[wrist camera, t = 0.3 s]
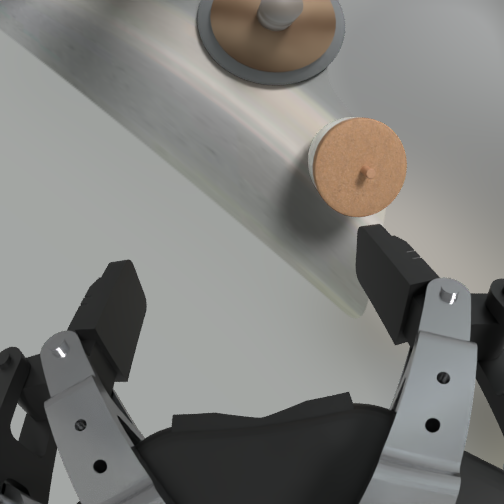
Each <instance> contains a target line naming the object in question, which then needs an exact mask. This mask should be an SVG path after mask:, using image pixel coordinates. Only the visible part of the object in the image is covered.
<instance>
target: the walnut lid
mask: <svg viewBox="0 0 504 504" xmlns="http://www.w3.org/2000/svg"><path fill="white" fill-rule="evenodd" d="M210 18H211V26H212V30H213V33H214V35H215V38H216V40H217V41H218V43H219V45H220V46H221V47H222V48H223V50H224V51H225V52H226V53H227V54H228V55H229V56H230V57H232V58H233V59H235V60H236V61H237V62H239V63H241V64H243V65H245V66H247V67H250V68H252V69H256V70H259V71H264V72H274V73H277V72H288V71H293V70H297V69H300V68H302V67H305V66H307V65H309V64H311V63H313V62H314V61H316V60H317V59H318V58H320V57H321V56H322V55H323V54H324V53H325V52H326V50H327V49H328V48H329V46H330V44H331V42H332V40H333V37H334V35H335V29H336V17H335V12H334V8H333V6H332V4H331V1H330V0H213V3H212V7H211V15H210Z"/></svg>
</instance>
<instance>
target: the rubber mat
mask: <svg viewBox="0 0 504 504" xmlns="http://www.w3.org/2000/svg"><path fill="white" fill-rule="evenodd" d="M330 1H331V4H332V6H333V8H334V12H335V17H336V29H335V35H334V37H333V40H332V42H331V44H330V46H329V48H328V49H327V50H326V52H325V53H324V54H323V55H322V56H321V57H320V58H318V59H317V60H316V61H314V62H313V63H311V64H309V65H307V66H305V67H302V68H300V69H297V70H293V71H288V72H277V73H274V72H264V71H259V70H256V69H252V68H250V67H247V66H245V65H243V64H241V63H239V62H237V61H236V60H235V59H233V58H232V57H230V56H229V55H228V54H227V53H226V52H225V51H224V50H223V48H222V47H221V46H220V45H219V43H218V41H217V40H216V38H215V35H214V33H213V30H212V26H211V18H210V15H211V7H212V3H213V0H201V2H200V5H199V9H198V19H197V21H198V30H199V33H200V37H201V39H202V42H203V44H204V46H205V48H206V49H207V51H208V53H209V54H210V55H211V56H212V57H213V59H214V60H215V61H216V62H217V63H218V64H219V65H221V66H222V67H223V68H224V69H226V70H227V71H229V72H230V73H232V74H234V75H236V76H237V77H240V78H242V79H245V80H248V81H251V82H255V83H260V84H265V85H285V84H291V83H296V82H300V81H303V80H306V79H308V78H311V77H313V76H314V75H316V74H318V73H320V72H321V71H322V70H324V69H325V68H326V67H327V66H328V65H329V64H330V63H331V62H332V61H333V60H334V58H335V57H336V55H337V54H338V52H339V50H340V48H341V46H342V43H343V40H344V34H345V19H344V14H343V11H342V8H341V5H340V3H339V1H338V0H330Z"/></svg>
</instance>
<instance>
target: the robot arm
mask: <svg viewBox="0 0 504 504" xmlns="http://www.w3.org/2000/svg"><path fill="white" fill-rule="evenodd" d="M356 274H357V278H358V280H359V282H360V284H361V286H362V287H363V289H364V291H365V293H366V294H367V296H368V298H369V299H370V301H371V303H372V304H373V306H374V308H375V310H376V312H377V313H378V315H379V317H380V319H381V320H382V322H383V324H384V325H385V327H386V329H387V331H388V333H389V335H390V337H391V338H392V340H393V342H394V344H395V345H398V344H402V343H405V342H408V343H409V345H410V348H409V351H408V354H407V358H406V361H405V364H404V368H403V371H402V375H401V378H400V381H399V384H398V387H397V390H396V393H395V396H394V398H393V401H392V404H391V406H390V408H389V409H386V408H383V407H379V406H375V405H370V404H360V403H353V402H352V400H351V397H350V394H349V392H346V393H342V394H337V395H333V396H328V397H323V398H318V399H314V400H309V401H305V402H302V403H300V404H298V405H295V406H293V407H290V408H288V409H285V410H282V411H280V412H277V413H275V414H272V415H269V416H266V417H262V418H254V417H244V416H236V415H227V414H220V413H203V414H183V415H173V419H172V427H170V428H167V429H164V430H161V431H158V432H156V433H154V434H152V435H150V436H149V437H147V438H144V436H143V435H142V434H141V432H140V431H139V430H138V428H137V427H136V425H135V423H134V422H133V420H132V419H131V417H130V415H129V414H128V412H127V411H126V409H125V407H124V406H123V404H122V402H121V401H120V399H119V397H118V396H117V394H116V392H115V391H114V390H113V386H114V382H127V381H128V378H129V373H130V369H131V365H132V361H133V357H134V353H135V350H136V346H137V342H138V338H139V335H140V331H141V327H142V324H143V320H144V317H145V313H146V298H145V295H144V292H143V290H142V286H141V284H140V281H139V279H138V276H137V273H136V270H135V268H134V265H133V263H132V262H131V260H123V261H117V262H111V263H109V264H108V266H107V268H106V270H105V272H104V273H103V275H102V277H101V278H99V279H98V280H96V282H94V283H93V284H92V285H91V286H90V288H89V290H88V291H87V293H86V295H85V298H84V299H83V301H82V302H81V306H79V308H78V310H77V312H76V314H75V316H74V318H73V320H72V322H71V323H70V325H69V327H68V330H67V331H62V332H59V333H57V334H55V335H53V336H52V337H50V338H49V339H48V340H47V341H46V342H45V343H44V345H43V347H42V349H41V352H40V354H38V355H35V356H31V357H28V358H25V356H24V355H23V354H22V352H21V351H20V350H19V349H18V348H17V347H9V348H7V349H5V350H3V351H2V352H1V353H0V504H48V500H49V492H50V485H51V479H52V472H53V467H54V462H55V457H56V451H57V448H58V451H59V453H60V456H61V458H62V461H63V464H64V466H65V468H66V471H67V473H68V475H69V478H70V480H71V482H72V485H73V487H74V489H75V491H76V493H77V495H78V497H79V500H80V501H79V502H78V503H77V504H504V465H503V470H502V469H500V468H498V467H496V466H494V465H492V464H490V463H488V462H486V461H484V460H482V459H480V458H478V457H476V456H474V455H472V454H470V453H468V452H466V451H464V448H465V443H466V438H467V433H468V428H469V422H470V416H471V410H472V403H473V395H474V386H475V378H476V380H477V381H478V383H479V385H480V387H481V389H482V391H483V393H484V395H485V397H486V399H487V401H488V403H489V405H490V407H491V409H492V411H493V413H494V416H495V418H496V420H497V422H498V424H499V426H500V429H501V431H502V433H503V436H504V279H497V280H495V281H493V282H492V284H491V286H490V289H489V292H488V294H470V292H469V290H468V289H467V288H466V287H465V285H463V284H462V283H460V282H459V281H457V280H454V279H451V278H440V277H439V276H438V275H437V274H436V273H435V272H434V271H433V270H432V269H431V268H430V267H429V265H428V264H427V263H426V262H425V261H424V260H423V259H422V258H420V256H419V255H418V254H417V253H416V251H414V249H413V248H412V247H411V246H410V245H409V244H408V243H407V242H406V241H404V240H402V239H400V238H398V237H396V236H391V235H390V234H389V233H388V232H387V231H386V229H385V228H384V227H383V226H382V225H380V224H375V225H368V226H361V227H359V229H358V233H357V252H356ZM17 403H18V404H19V405H20V406H21V407H22V408H23V409H24V410H25V411H26V412H27V414H26V417H25V421H24V424H23V427H22V431H21V434H20V437H19V441H17V440H16V439H15V438H14V437H13V435H12V433H11V429H10V424H11V420H12V417H13V414H14V411H15V408H16V405H17Z"/></svg>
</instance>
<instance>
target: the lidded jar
mask: <svg viewBox="0 0 504 504" xmlns="http://www.w3.org/2000/svg"><path fill="white" fill-rule="evenodd" d="M406 168H407V162H406V154H405V150H404V147H403V145H402V143H401V141H400V139H399V138H398V136H397V135H396V134H395V132H394V131H393V130H392V129H390V128H389V127H388V126H387V125H385V124H383V123H381V122H379V121H376V120H374V119H369V118H358V117H348V118H341V119H338V120H335V121H333V122H331V123H329V124H327V125H325V126H324V127H323V128H322V129H321V130H320V131H319V132H318V133H317V134H316V136H315V137H314V139H313V140H312V143H311V145H310V148H309V152H308V169H309V174H310V176H311V179H312V182H313V184H314V185H315V187H316V189H317V190H318V192H319V194H320V195H321V197H322V198H323V199H324V201H325V202H326V203H327V204H328V205H329V206H330V207H331V208H332V209H334V210H335V211H337V212H339V213H341V214H344V215H347V216H351V217H364V216H369V215H373V214H375V213H377V212H379V211H381V210H383V209H384V208H386V207H387V206H388V205H389V204H390V203H391V202H392V201H393V200H394V199H395V198H396V196H397V195H398V193H399V192H400V190H401V188H402V186H403V183H404V180H405V176H406Z"/></svg>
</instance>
